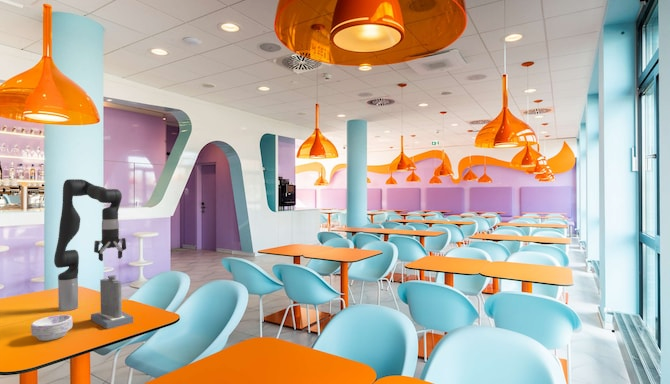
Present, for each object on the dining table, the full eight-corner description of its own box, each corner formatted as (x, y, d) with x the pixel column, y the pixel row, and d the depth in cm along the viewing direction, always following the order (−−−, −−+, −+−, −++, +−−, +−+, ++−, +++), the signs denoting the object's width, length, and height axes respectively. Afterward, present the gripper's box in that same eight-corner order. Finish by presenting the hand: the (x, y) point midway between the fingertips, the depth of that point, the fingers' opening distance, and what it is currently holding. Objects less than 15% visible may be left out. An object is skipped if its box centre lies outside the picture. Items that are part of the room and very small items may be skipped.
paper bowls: (24, 345, 166) (24, 327, 166) (40, 333, 181) (40, 316, 181) (64, 341, 171) (64, 323, 171) (77, 329, 185) (77, 313, 185)
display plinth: (90, 320, 199) (90, 313, 199) (115, 314, 208) (115, 308, 208) (107, 329, 185) (107, 322, 185) (133, 322, 194) (133, 316, 194)
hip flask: (99, 313, 199) (98, 274, 199) (107, 311, 203) (107, 273, 203) (116, 318, 191) (116, 278, 191) (124, 316, 194) (124, 276, 194)
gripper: (122, 226, 205) (122, 257, 206) (92, 228, 195) (92, 260, 195) (128, 227, 201) (128, 258, 201) (97, 229, 190) (97, 262, 190)
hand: (110, 259), depth 198 cm, fingers open, 8 cm apart
